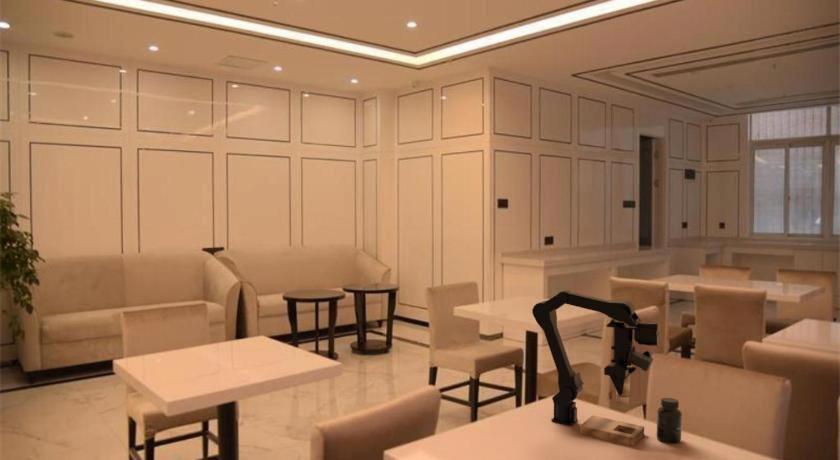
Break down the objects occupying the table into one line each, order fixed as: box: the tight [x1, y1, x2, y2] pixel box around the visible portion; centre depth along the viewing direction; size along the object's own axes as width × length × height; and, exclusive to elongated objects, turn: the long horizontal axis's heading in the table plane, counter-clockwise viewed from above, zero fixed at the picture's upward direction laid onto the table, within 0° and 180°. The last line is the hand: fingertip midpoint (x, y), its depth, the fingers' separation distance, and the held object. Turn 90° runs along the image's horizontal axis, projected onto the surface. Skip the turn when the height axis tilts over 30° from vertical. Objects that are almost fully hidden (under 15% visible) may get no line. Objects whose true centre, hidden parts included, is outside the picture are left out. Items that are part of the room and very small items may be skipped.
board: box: [579, 415, 645, 447], centre depth 181 cm, size 16×11×2 cm
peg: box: [614, 373, 631, 406], centre depth 182 cm, size 4×4×9 cm
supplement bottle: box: [656, 397, 683, 445], centre depth 177 cm, size 7×7×12 cm
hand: (622, 392), depth 183 cm, fingers closed on peg, 4 cm apart
